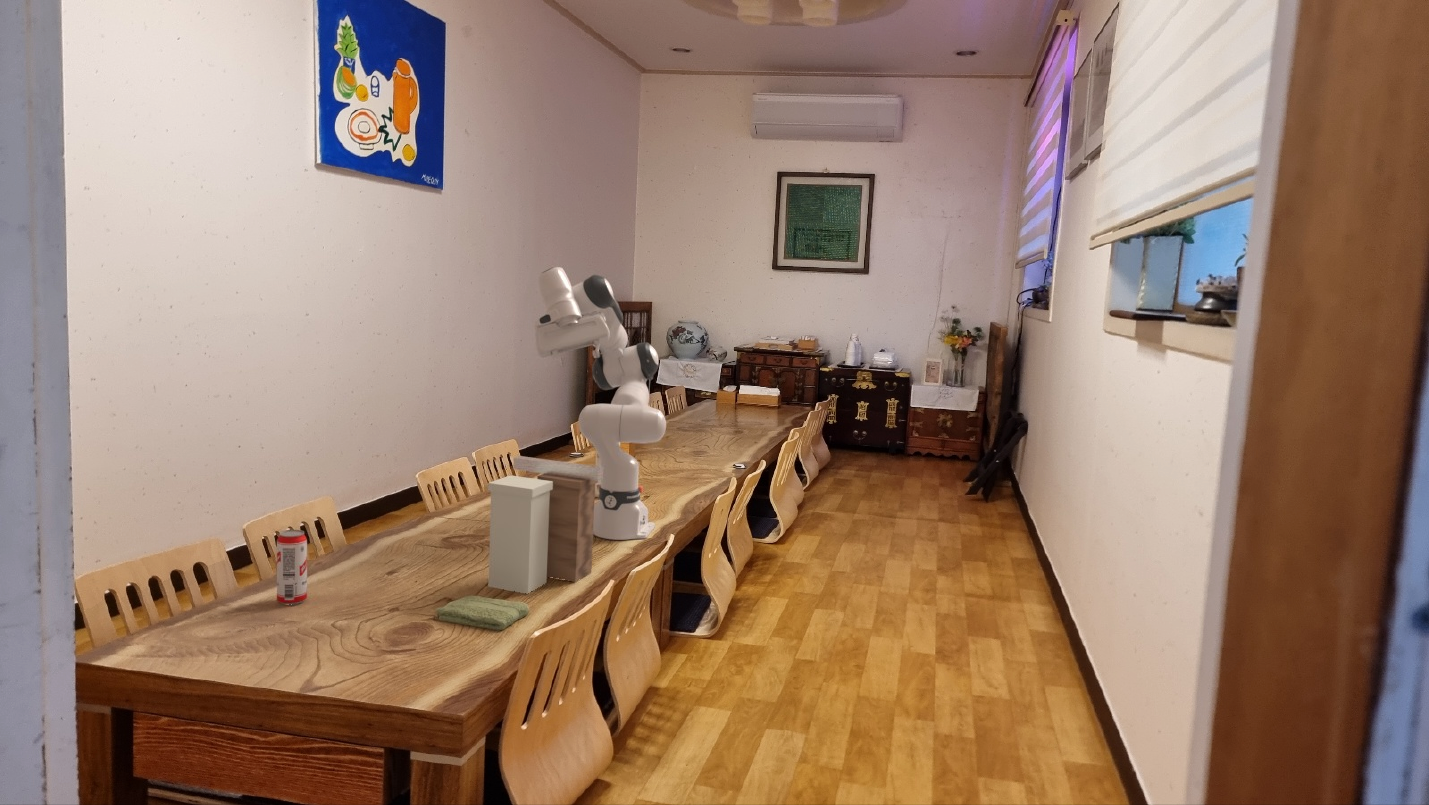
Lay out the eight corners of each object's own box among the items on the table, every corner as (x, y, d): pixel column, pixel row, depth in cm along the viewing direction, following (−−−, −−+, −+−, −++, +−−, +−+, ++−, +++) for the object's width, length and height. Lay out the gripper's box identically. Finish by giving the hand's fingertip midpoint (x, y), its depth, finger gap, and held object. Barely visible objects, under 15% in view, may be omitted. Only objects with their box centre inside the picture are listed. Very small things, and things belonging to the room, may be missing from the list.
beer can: (274, 607, 212) (274, 537, 210) (279, 597, 218) (279, 529, 216) (304, 605, 214) (305, 536, 212) (308, 596, 220) (309, 528, 218)
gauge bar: (519, 467, 249) (519, 455, 249) (602, 478, 241) (603, 467, 241) (513, 469, 246) (513, 457, 246) (597, 481, 239) (598, 469, 238)
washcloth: (464, 602, 223) (465, 589, 223) (532, 615, 218) (532, 602, 217) (431, 621, 211) (431, 607, 210) (501, 635, 205) (502, 620, 205)
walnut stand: (552, 565, 253) (556, 469, 249) (593, 572, 249) (598, 474, 246) (533, 575, 244) (537, 476, 240) (576, 583, 240) (580, 482, 236)
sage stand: (507, 575, 243) (510, 475, 239) (549, 583, 239) (552, 481, 235) (485, 587, 233) (488, 482, 230) (528, 595, 229) (532, 489, 226)
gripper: (602, 315, 270) (616, 357, 264) (530, 333, 265) (544, 375, 259) (602, 304, 264) (617, 346, 259) (529, 321, 259) (543, 365, 254)
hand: (580, 361), depth 259 cm, fingers open, 8 cm apart
